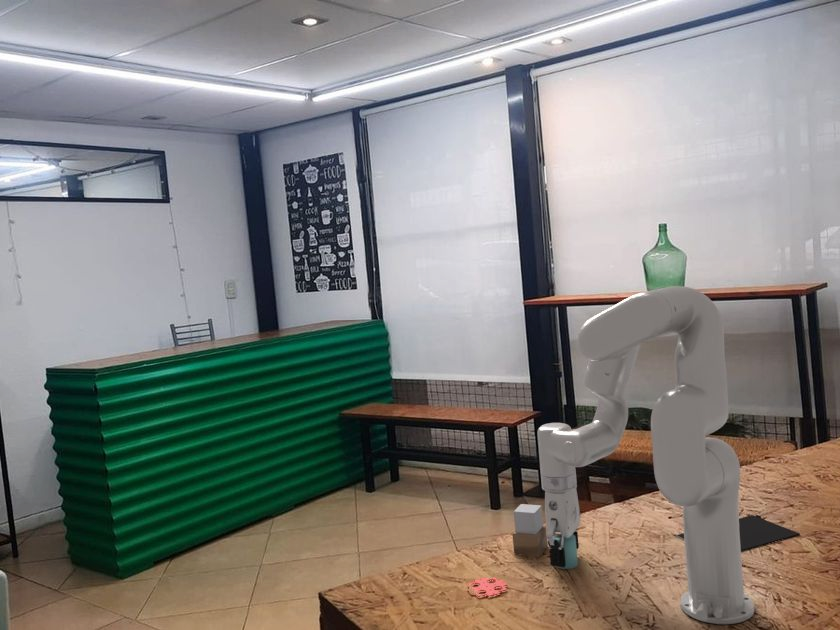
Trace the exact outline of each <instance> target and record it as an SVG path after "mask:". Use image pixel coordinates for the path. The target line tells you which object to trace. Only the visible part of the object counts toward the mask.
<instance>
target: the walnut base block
mask: <svg viewBox="0 0 840 630" xmlns="http://www.w3.org/2000/svg"><path fill="white" fill-rule="evenodd" d="M511 535H512V544H513V554H514V553H516V554H515V555H519V554H521V555H520V556H527V555H528V556H529V557H537V558H539V557H540V556H541V555H542V554H543V553H544V552H545V550H546V549H547V548H549V544H548V539H547V528H546V525H543V527H542V528H541V530H540V531H539V532H538V533H537V534H526V533H516V532H515V530H514V531H513V532H512V534H511Z"/></svg>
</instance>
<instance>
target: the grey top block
mask: <svg viewBox="0 0 840 630" xmlns="http://www.w3.org/2000/svg"><path fill="white" fill-rule="evenodd" d="M542 507H543V506H542V505H539V504H526V503H525V504H524V503H521V504H519V505H518V506H517V507H516V508H515V510H513V519H514V531H515V532H516V533H526V534H537V533H538V532H539V531H540V530H541V528H542V527H543V526H544V521H543V520H544V519H543V518H544V517H543V509H542Z"/></svg>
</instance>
